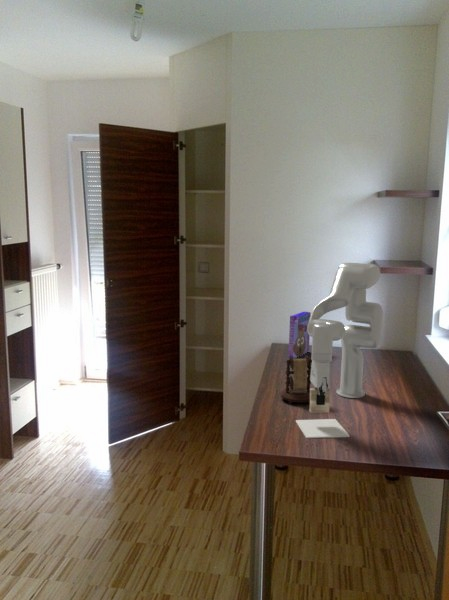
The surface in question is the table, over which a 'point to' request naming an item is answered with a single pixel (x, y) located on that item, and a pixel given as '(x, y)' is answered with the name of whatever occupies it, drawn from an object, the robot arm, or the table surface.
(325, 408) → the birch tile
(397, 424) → the table surface
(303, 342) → the cereal box
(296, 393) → the brown wooden ornament
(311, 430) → the rubber mat
